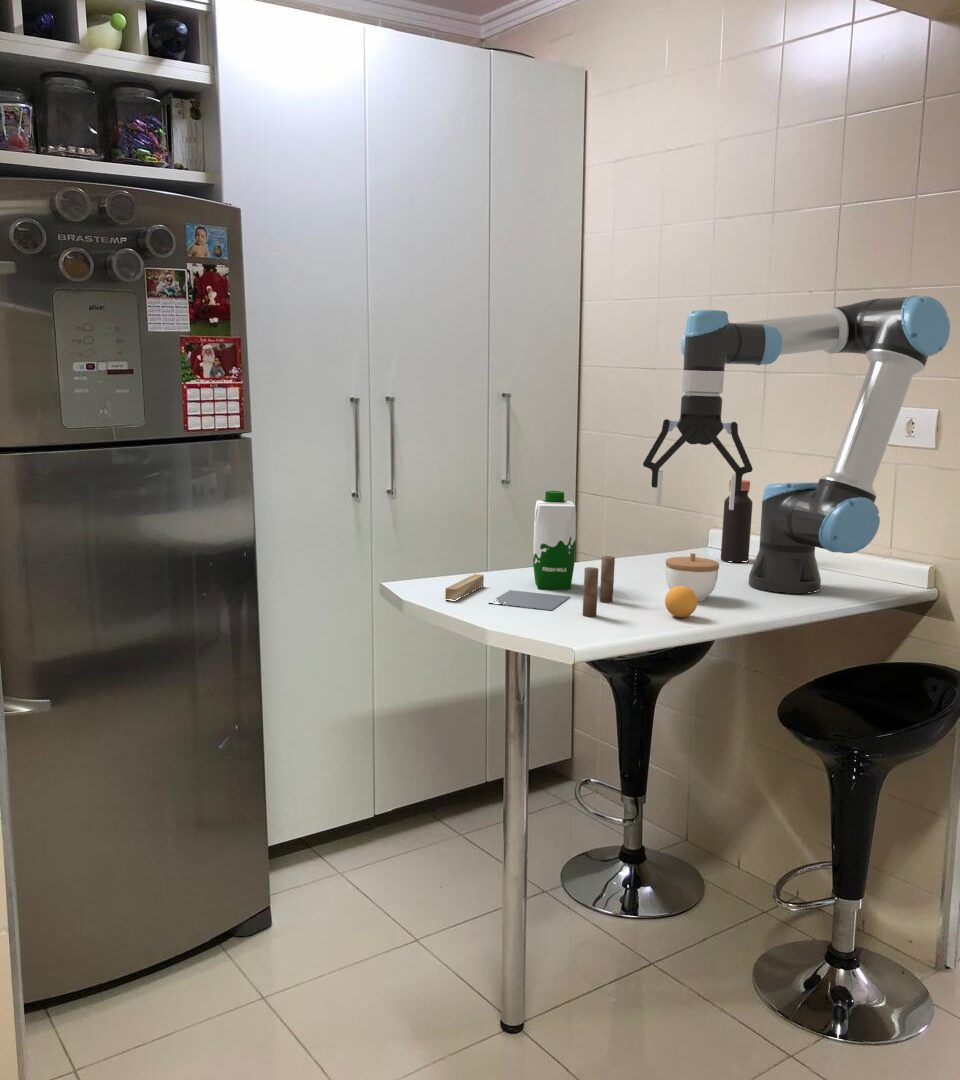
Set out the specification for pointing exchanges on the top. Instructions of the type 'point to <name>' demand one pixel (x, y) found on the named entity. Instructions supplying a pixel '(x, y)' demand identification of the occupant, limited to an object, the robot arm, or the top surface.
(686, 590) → the ball
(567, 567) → the milk carton
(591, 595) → the post
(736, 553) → the bottle
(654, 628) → the top surface
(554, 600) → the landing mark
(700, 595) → the lidded jar
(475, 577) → the rail
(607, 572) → the post
